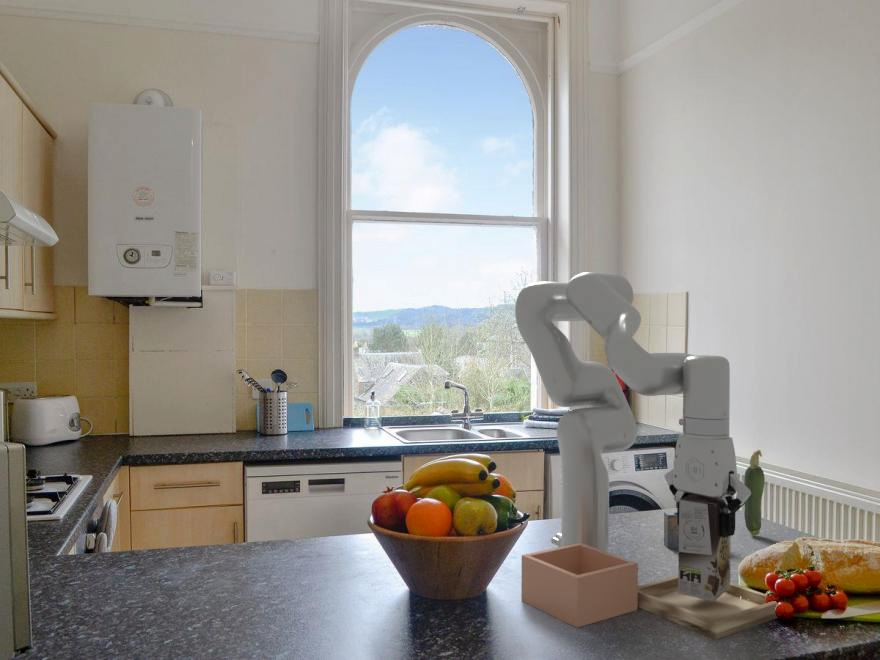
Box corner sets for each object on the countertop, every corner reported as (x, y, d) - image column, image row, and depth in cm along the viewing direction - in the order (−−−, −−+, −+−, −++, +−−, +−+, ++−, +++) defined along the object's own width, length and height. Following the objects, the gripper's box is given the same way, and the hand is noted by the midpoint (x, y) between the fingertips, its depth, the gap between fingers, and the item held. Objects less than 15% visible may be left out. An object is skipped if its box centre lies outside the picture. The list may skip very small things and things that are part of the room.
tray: (628, 603, 130) (628, 588, 130) (695, 584, 140) (695, 570, 140) (716, 639, 115) (716, 623, 115) (784, 615, 125) (784, 600, 125)
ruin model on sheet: (734, 538, 172) (734, 496, 172) (764, 560, 156) (764, 514, 156) (625, 537, 173) (626, 495, 173) (644, 559, 156) (644, 513, 156)
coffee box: (715, 602, 122) (716, 504, 122) (676, 594, 126) (677, 498, 126) (732, 587, 129) (732, 494, 129) (694, 579, 133) (695, 489, 133)
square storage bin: (521, 600, 131) (521, 555, 131) (579, 585, 139) (580, 542, 139) (577, 627, 120) (577, 577, 120) (637, 609, 127) (637, 563, 127)
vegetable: (739, 533, 175) (740, 448, 175) (754, 531, 176) (755, 447, 176) (752, 538, 171) (753, 451, 170) (768, 537, 172) (769, 450, 172)
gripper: (651, 423, 133) (650, 521, 133) (737, 435, 118) (736, 546, 118) (678, 420, 137) (678, 516, 137) (765, 432, 122) (764, 538, 122)
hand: (705, 529), depth 128 cm, fingers closed on coffee box, 8 cm apart
